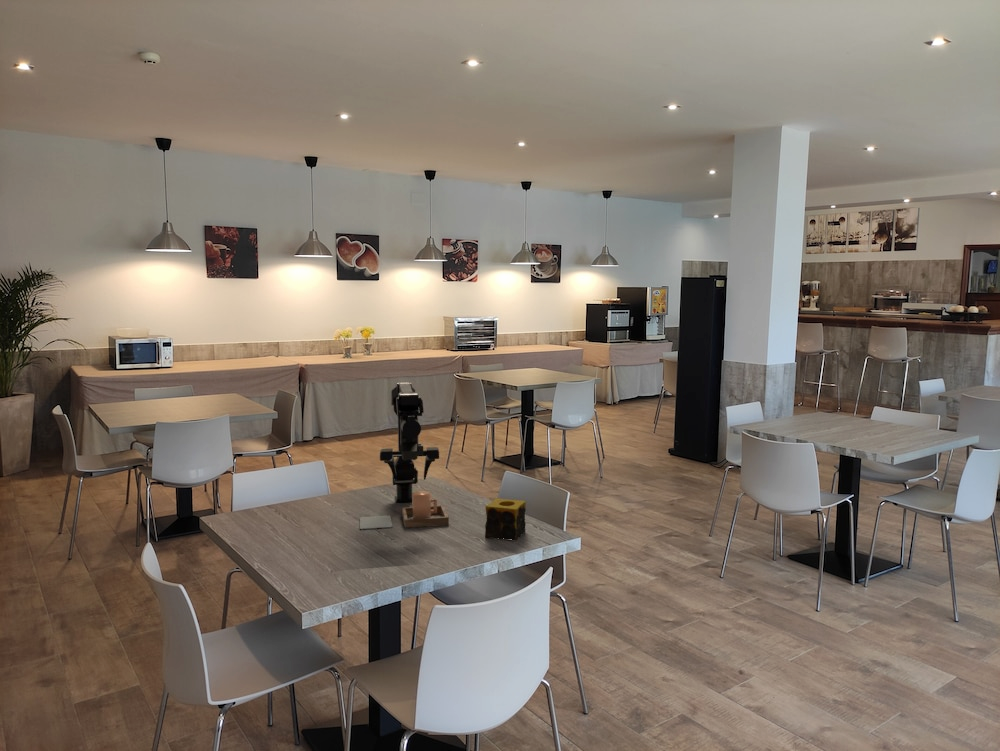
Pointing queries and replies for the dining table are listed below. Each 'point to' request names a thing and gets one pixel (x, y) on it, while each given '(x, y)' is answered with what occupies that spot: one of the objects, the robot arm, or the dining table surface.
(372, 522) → the pad
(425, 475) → the robot arm
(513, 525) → the candle
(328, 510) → the dining table surface
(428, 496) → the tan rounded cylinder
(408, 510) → the wooden picture frame
